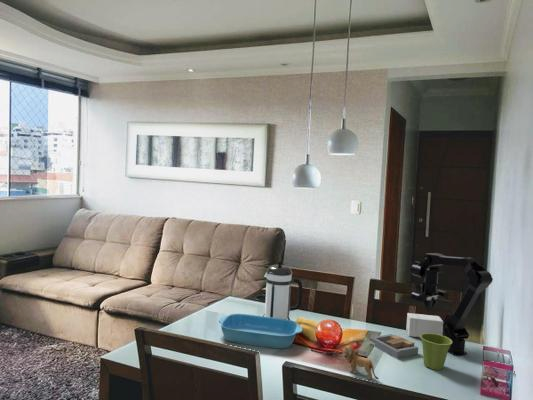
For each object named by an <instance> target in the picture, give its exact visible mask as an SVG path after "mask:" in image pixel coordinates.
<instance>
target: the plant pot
mask: <svg viewBox="0 0 533 400" xmlns="http://www.w3.org/2000/svg"><path fill="white" fill-rule="evenodd" d="M419 338H420V339H421V344H422V357H423V358H422V359H423V365H424V367H426V368H430V369H431V370H436V371H441V370H442V369H444V367H445V363H446V360H447V355H448V353H449V352H448V349H449V348H450V344H452V340H451V339H449V338H447V337H445V335H443V334H442V335H439V334H433V333H424V334H421V335H420V337H419Z"/></svg>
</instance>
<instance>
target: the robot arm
mask: <svg viewBox="0 0 533 400" xmlns="http://www.w3.org/2000/svg"><path fill="white" fill-rule="evenodd" d="M440 266H454V267H462V268H463V269H464V273H465V275H466V276H467V278H468V281H467V286H468V287H467V290H466V291H465V293H464V294H463V296H462V298H461V300H460V302H459V303H458V305H457V307H456V309H455V311H454V313H448V314H446V316H445V319H443V320H442V321H443V332H444V336H445V337H447V338H449V339H451V340H452V344H450V348H449V349H448V353H449V354H452V355H454V356H456V357H457V356H463V355H467V352H466V351H465V349H466V348H465V346H466V340H467V339H469V337H470V334H469V332H468V331H467V329H466V325H467V323H466V322H467V317H468V314H470V312H471V309H472V308H473V306H474V304H475V302H476V301H477V299H478V297H479V295H480V294H481V292H483V291H485V290H486V289H487V288H489V286H490V285H491V284H492V282H493V280H494V278H493V277H492V276H493V275H492V274H491V272H490V271H488V270H487V269H486V268H485V267H484V266H482V265H481V264H479V262H477V261H476V260H475V259H474V258H473V257H472V256H471V257H461V256H449V255H444V254H443V253H439V252H430V253H425V254H424V256H423V258H422V259H421V261H413V264H412V265H411V267H410V274H411V275H412V276H415V277H419V278H422V279H423V278H424V280H423V281H421V284H418V282H412V283H411V290H412V292H411V293H410V299H413V300H416V301H418V302H423V304H424V307H425V311H426V314H427V315H429V314H431V313H432V311H433V309H434V308H435V306H436V305H437V304H438V303H439V302H440V299H439V298H438V297H442V298H443V299H445V300H447V299H449V297H450V296H449V292H448V291H446V290H443V289H438V287H439V286H440V283H439V282H438V281H439V273H443V269H442V268H441V267H440Z"/></svg>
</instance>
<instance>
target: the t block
mask: <svg viewBox="0 0 533 400" xmlns="http://www.w3.org/2000/svg"><path fill="white" fill-rule="evenodd" d="M392 335H393V336H390V341H386V343H385V344H387V345H389V346H391V347H393V348H395V349H402V348H408V347H413V346H415V342H413V341H412V340H409V339H406V338H403V337H401V336H399V335H396V334H395V335H394V334H392Z"/></svg>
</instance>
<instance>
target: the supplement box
mask: <svg viewBox="0 0 533 400" xmlns="http://www.w3.org/2000/svg"><path fill="white" fill-rule="evenodd" d="M406 314H407V316H406V326H405V329H406V333H407V335H408V337H411V338H412V337H414V338H421V337H420V335H421V334H424V333H433V334H439V335H442V336H443V332H444V327H443V323H444V322H443V321H444V320H442V318H441V317H440V316H439V315H432V314H431V315H429V314H422V313H421V314H420V313H411V312H407V313H406Z"/></svg>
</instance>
